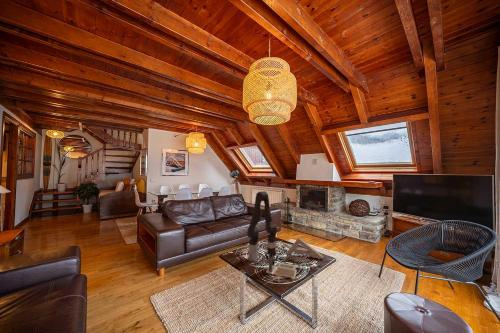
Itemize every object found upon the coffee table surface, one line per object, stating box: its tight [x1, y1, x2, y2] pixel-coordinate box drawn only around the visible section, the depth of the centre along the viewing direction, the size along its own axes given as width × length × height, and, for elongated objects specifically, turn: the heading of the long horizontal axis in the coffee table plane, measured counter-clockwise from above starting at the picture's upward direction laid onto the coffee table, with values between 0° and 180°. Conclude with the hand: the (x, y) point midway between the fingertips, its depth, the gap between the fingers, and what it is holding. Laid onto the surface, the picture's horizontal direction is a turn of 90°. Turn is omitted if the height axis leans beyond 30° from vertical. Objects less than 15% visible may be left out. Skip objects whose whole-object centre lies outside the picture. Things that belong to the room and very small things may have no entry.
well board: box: [265, 262, 298, 280], centre depth 180 cm, size 26×14×6 cm, turn 69°
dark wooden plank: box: [268, 255, 275, 272], centre depth 183 cm, size 9×3×14 cm, turn 159°
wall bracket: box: [286, 237, 324, 260], centre depth 210 cm, size 22×4×30 cm
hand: (271, 264), depth 183 cm, fingers closed on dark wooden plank, 3 cm apart
